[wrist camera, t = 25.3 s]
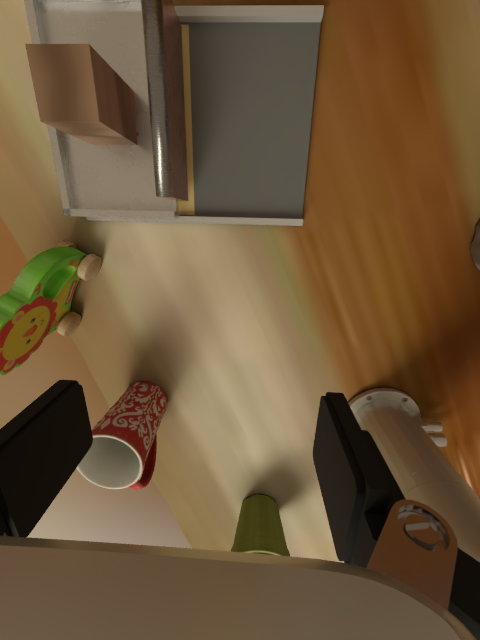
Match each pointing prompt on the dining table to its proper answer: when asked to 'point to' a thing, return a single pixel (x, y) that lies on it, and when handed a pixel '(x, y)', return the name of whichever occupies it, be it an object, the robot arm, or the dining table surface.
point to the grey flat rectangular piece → (246, 112)
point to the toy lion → (42, 301)
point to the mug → (126, 440)
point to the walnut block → (82, 94)
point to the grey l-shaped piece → (149, 107)
